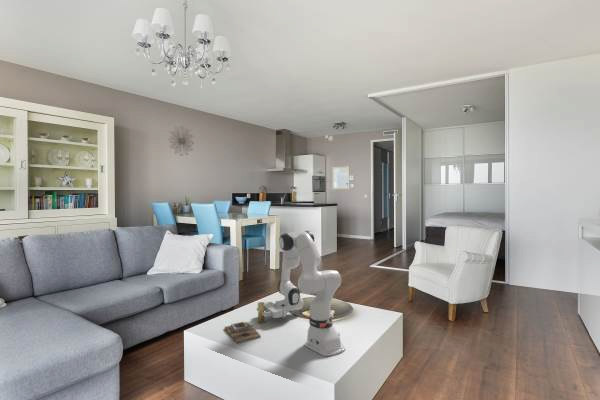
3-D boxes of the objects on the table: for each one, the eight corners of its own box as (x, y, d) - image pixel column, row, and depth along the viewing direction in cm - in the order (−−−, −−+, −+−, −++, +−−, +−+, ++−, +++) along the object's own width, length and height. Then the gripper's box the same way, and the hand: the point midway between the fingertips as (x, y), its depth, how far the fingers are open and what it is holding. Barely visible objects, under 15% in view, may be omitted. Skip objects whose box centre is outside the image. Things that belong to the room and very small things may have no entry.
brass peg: (265, 322, 212) (265, 303, 211) (259, 323, 210) (259, 304, 209) (263, 320, 215) (262, 301, 215) (257, 321, 213) (256, 302, 213)
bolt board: (260, 337, 191) (260, 331, 190) (236, 343, 184) (236, 337, 184) (246, 323, 210) (246, 318, 210) (224, 328, 203) (224, 323, 203)
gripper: (272, 298, 227) (253, 302, 221) (286, 307, 210) (266, 312, 203) (273, 307, 228) (253, 311, 221) (287, 317, 210) (266, 322, 203)
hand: (260, 311), depth 212 cm, fingers open, 8 cm apart
